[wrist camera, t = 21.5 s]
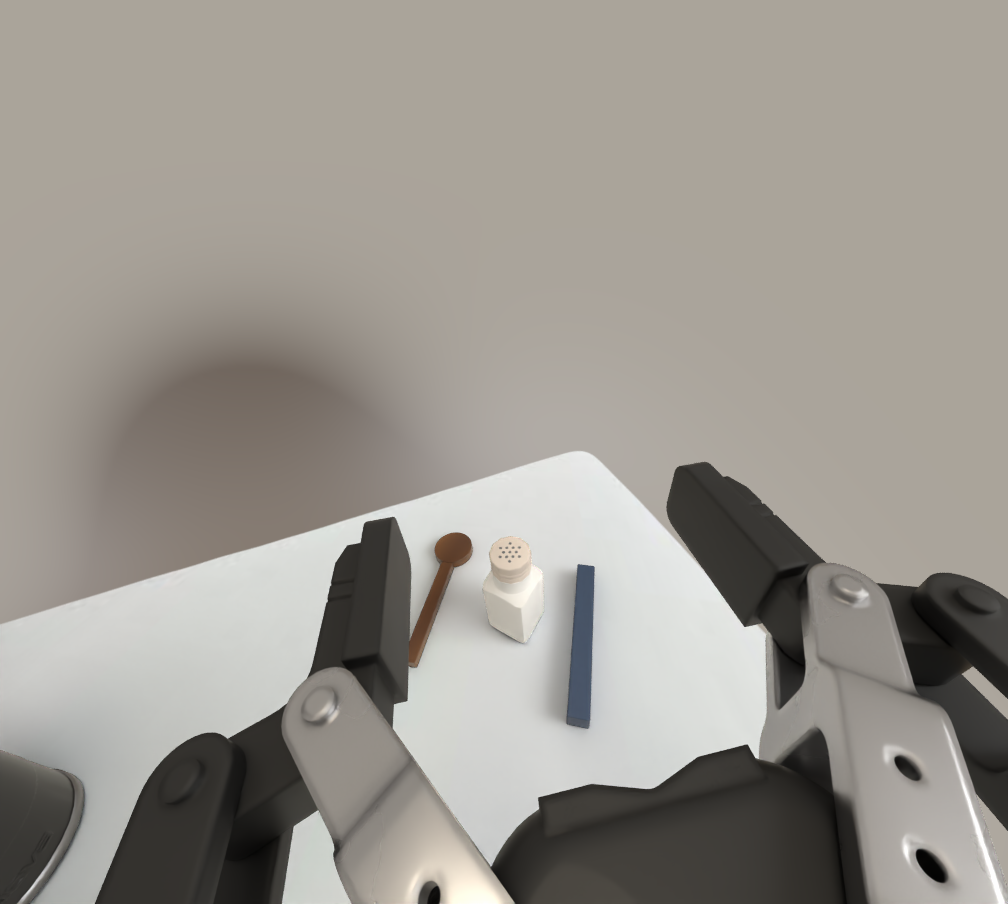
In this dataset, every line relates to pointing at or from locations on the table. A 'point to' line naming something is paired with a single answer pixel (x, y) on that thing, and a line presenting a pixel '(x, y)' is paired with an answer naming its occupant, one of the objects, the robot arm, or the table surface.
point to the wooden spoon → (438, 588)
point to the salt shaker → (513, 589)
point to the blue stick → (581, 650)
